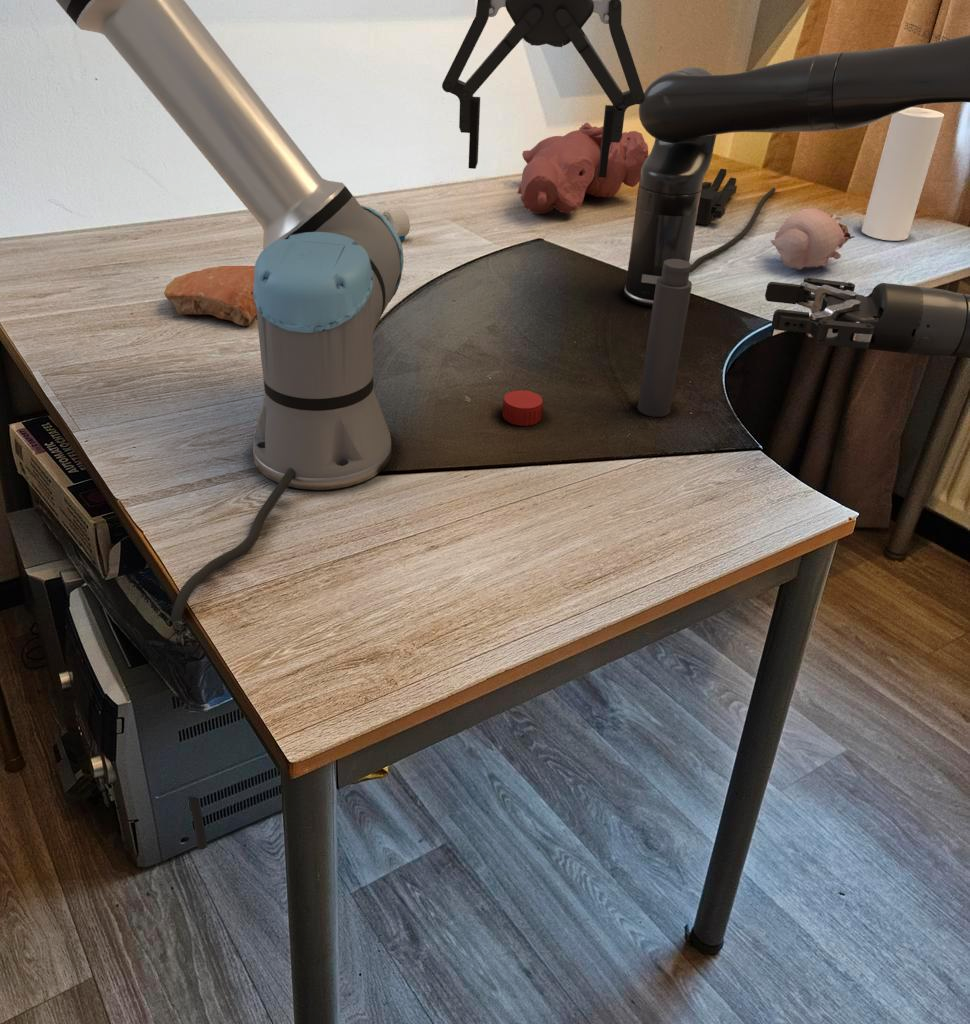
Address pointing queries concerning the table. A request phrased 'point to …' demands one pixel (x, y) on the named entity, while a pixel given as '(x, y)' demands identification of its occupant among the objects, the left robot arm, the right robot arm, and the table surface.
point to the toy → (810, 238)
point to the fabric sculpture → (578, 169)
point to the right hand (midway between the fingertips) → (769, 304)
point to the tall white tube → (902, 171)
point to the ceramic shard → (216, 293)
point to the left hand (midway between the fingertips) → (537, 170)
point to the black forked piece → (714, 198)
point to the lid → (522, 408)
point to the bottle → (665, 338)
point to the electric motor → (398, 222)
